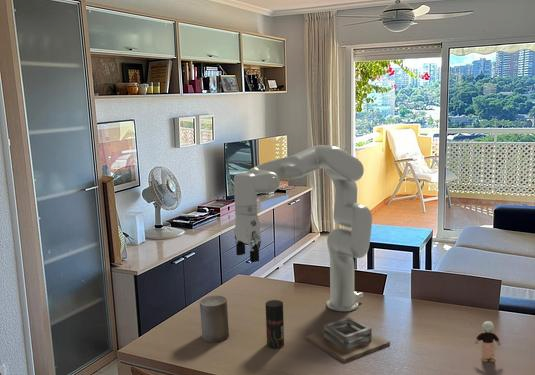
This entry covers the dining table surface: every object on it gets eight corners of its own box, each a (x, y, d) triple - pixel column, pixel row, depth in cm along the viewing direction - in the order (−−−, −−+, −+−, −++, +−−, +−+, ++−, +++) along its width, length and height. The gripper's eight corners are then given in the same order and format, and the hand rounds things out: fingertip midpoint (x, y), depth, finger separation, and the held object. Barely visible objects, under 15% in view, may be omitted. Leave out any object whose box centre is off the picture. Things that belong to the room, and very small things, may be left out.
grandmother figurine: (495, 356, 166) (497, 318, 164) (501, 362, 163) (503, 323, 160) (471, 357, 166) (473, 319, 164) (477, 363, 162) (478, 325, 160)
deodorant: (282, 349, 176) (281, 307, 173) (265, 348, 177) (263, 306, 174) (285, 341, 181) (284, 300, 179) (268, 340, 182) (267, 299, 180)
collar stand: (350, 324, 193) (350, 310, 192) (389, 345, 176) (390, 329, 175) (306, 339, 182) (306, 324, 181) (344, 362, 166) (344, 346, 165)
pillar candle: (233, 332, 190) (231, 292, 187) (222, 344, 180) (219, 303, 178) (209, 329, 193) (206, 290, 190) (197, 341, 184) (194, 300, 181)
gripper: (268, 212, 171) (270, 262, 174) (243, 203, 186) (245, 250, 189) (248, 215, 167) (250, 266, 170) (224, 206, 182) (226, 253, 185)
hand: (247, 258), depth 179 cm, fingers open, 9 cm apart
